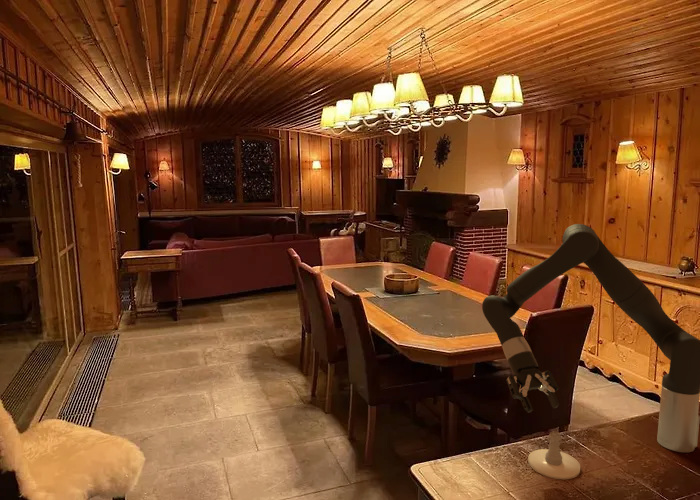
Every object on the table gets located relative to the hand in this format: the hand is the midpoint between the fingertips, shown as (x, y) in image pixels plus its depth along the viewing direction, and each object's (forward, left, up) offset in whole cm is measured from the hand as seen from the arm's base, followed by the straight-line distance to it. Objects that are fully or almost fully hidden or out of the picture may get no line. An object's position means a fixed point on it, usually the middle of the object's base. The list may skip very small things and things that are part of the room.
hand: (543, 409), depth 139 cm
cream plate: (0, +5, -14) cm, 15 cm away
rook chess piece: (0, +5, -13) cm, 14 cm away
